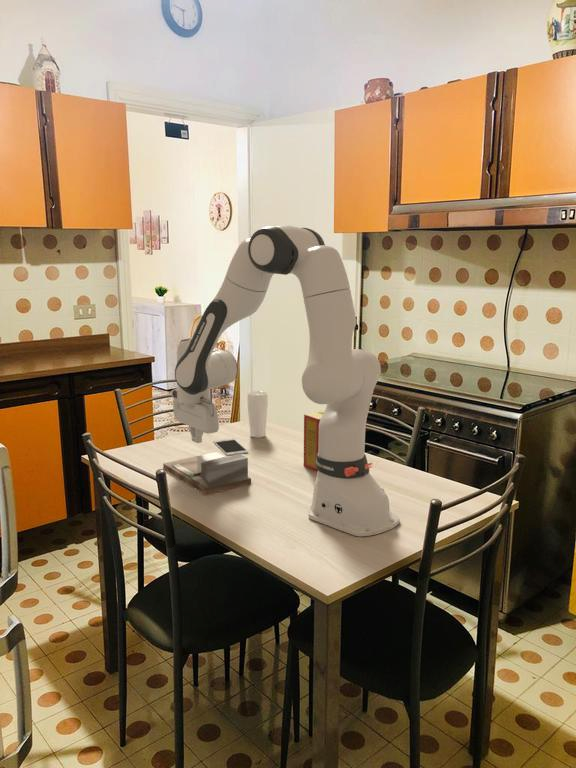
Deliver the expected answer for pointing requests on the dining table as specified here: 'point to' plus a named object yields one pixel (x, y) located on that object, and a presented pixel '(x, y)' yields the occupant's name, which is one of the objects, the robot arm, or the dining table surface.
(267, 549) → the dining table surface
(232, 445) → the smartphone
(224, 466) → the grey stepped block
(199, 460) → the white rectangular block
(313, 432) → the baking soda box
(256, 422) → the white travel tumbler
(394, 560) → the dining table surface
